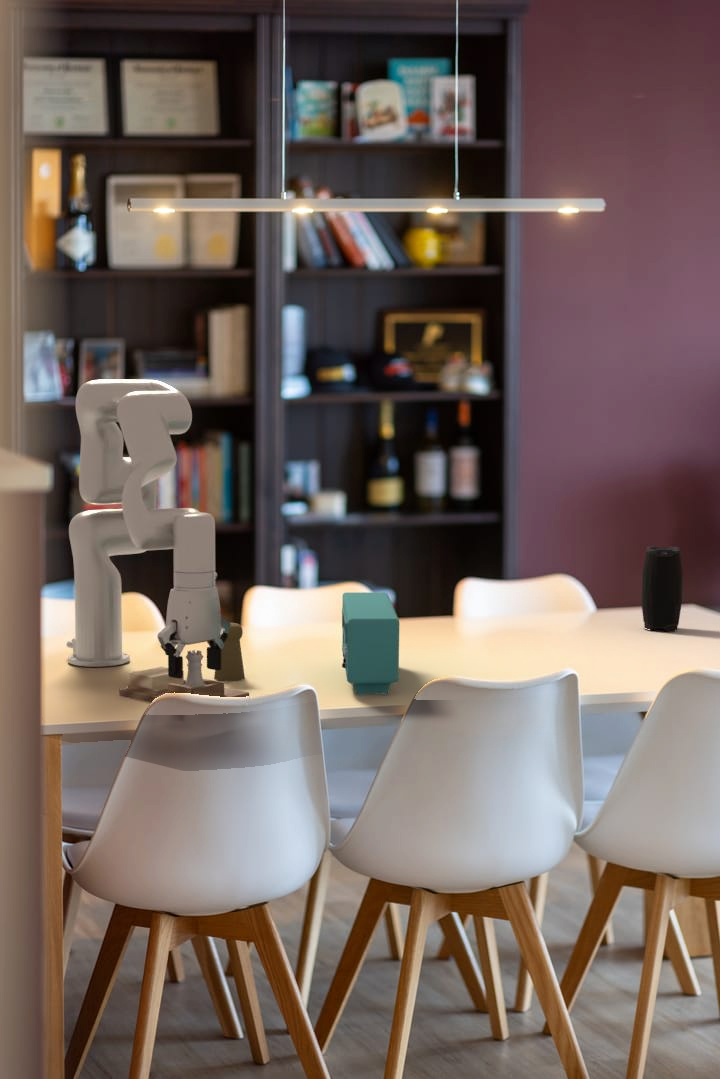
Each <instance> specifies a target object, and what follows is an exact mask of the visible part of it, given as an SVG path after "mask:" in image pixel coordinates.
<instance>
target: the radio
mask: <svg viewBox="0 0 720 1079" xmlns="http://www.w3.org/2000/svg"><path fill="white" fill-rule="evenodd" d="M341 627H342V628H341V629H342V641H341V642H342V646H341V648H342V649H341V652H342V657H343V659H342V664H341V667H342V668H343V669H344V670H345V675H346V681H347V683H349V684H352V686H353V688H354V691H355V692H354V693H355V695H380V694H381V693H386V694H389V692H390V688H391V684H397V683H398V682H399V677H400V676H399V675H400V674H399V672H400V671H399V669H400V668H399V667H400V664H399V662H400V620H399V617H398V615H397V613H396V610H395V607H394V605H393V603H392V600H391V598H390V596H389V594H388V593H387V592H344V593H343V594H342V608H341Z"/></svg>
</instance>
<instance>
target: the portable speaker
mask: <svg viewBox="0 0 720 1079" xmlns="http://www.w3.org/2000/svg"><path fill="white" fill-rule="evenodd" d="M681 556H682V555H681V549H680V547H678V546H669V547H657V546H656V545H655V546H654V545H651V546H647V547H646V552H645V557H644V562H643V567H642V570H641V571H642V574H641V575H642V577H641V611H642V612H641V613H642V618H643V623H644V629H645V628H647V629H650V630H652V631H653V630H654V629H664V631H665V632H666V631H672V632H676V631H678V626H679V623H680V617H681V610H682V602H683V601H682V600H683V599H682V598H683V580H684V579H683V574H684V573H683V565H682V559H681ZM675 630H676V631H675Z"/></svg>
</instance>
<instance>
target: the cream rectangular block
mask: <svg viewBox="0 0 720 1079" xmlns="http://www.w3.org/2000/svg"><path fill="white" fill-rule="evenodd" d="M184 673H185V672H184V670H183V677H182V678H180V679H178V678H173V677H169V675H168V667H164V666H159V667H154V668H153V667H152V668H148V669H143V670H138V671H132V672H130V673H129V685H134V686H139V687H143V688H148V689H153V690H158V691H160V690H165V689H168V684H169V683H174V684H180V685H184V680H185V679H184V677H185V676H184Z"/></svg>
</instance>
